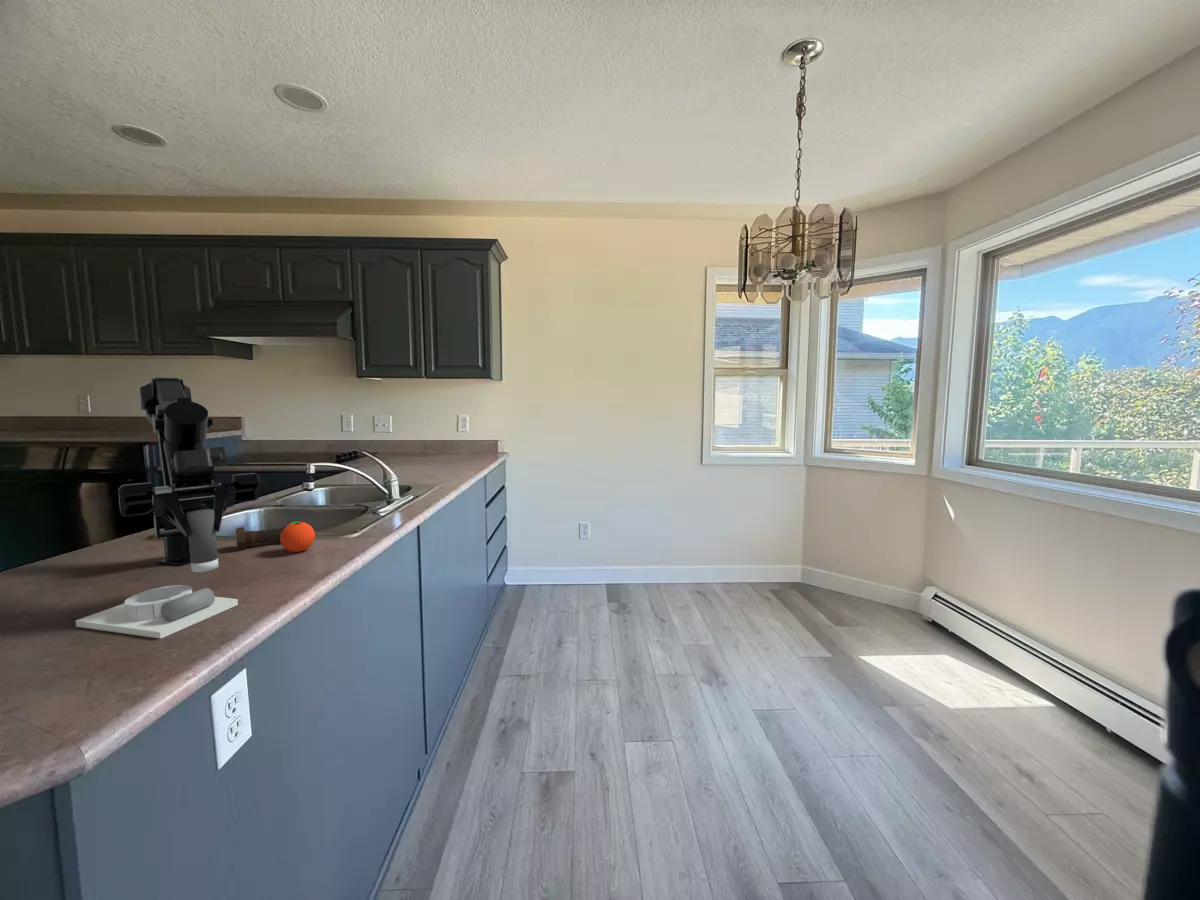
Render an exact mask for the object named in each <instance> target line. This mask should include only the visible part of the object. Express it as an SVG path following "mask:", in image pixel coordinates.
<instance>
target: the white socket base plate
mask: <svg viewBox="0 0 1200 900" xmlns="http://www.w3.org/2000/svg"><path fill="white" fill-rule="evenodd" d="M238 600H239V599H238V598H230V597H223V596H222V597H221V596H215V593H214V591H213V590H212V589H211V588H209V587H204V588H201V589H199V590H196V591H193V588H192V586H190V585H185V584H176V585H166V586H161V587H157V588H156V587H155V588H152V589H147V590H144V591H141V592H138V593H136V594H135V593H134V594H131V596H129V597H128V598H126V599H125V600H124V603H122V604H119V605H116V606H112V607H110V608H107V609H105V610H102V611H99V612H96V613H94V614H90V615H88V616H84V617H82V618H78V619H76V620H75V627H76V628H83V629H90V630H98V631H103V632H111V633H119V634H126V635H133V636H140V637H146V638H147V637H148V638H155V639H161V640H162V639H163V638H166V637H167V636H170V635H173V634H174V633H177V632H179V631H181V630H184V629H185V628H188V627H190V626H193V625H196V624H198V623H200V622H202V621H205V620H206V619H208V618H211V617H213V616H215V615H217V614H220V613H222V612H225V611H227V610H229V609H231V608H234V607H236V606H238V605H239V601H238Z"/></svg>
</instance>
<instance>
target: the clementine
mask: <svg viewBox="0 0 1200 900" xmlns="http://www.w3.org/2000/svg"><path fill="white" fill-rule="evenodd" d="M288 524H289V525H288V526H286V527H285V528H284V527H283V528H284V529H283V531H282V533H281V535H280V544H281V546H282V547H283V548H284V549H285V550H287V551H290V552H293V553H300V551H301V552H303V551H305V550H307V549H309V548H311V546H312V545H313V544H314V541H315V540H316V533H315V530H314V528H313V526H311V525H310V524H308V523H307V522H304V521H294V522H289V523H288Z"/></svg>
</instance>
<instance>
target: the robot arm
mask: <svg viewBox="0 0 1200 900" xmlns="http://www.w3.org/2000/svg"><path fill="white" fill-rule="evenodd" d="M191 391H192V390H191V388H190V387H189V386H187V385H185V384H184V380H183V378H182V379H181V378H179V377H158V376H157V377H153V378H151V379H150V382H148V383H147V384H145V385H143V386H140V387H139V404H140V409H141V410H140V411H144V412H145V413H144V414H145V418H146V421H148V423H150V425H152V432H153V433H154V434H157V437H158V438H157V439H158V446H159V454H160V455H159V456H160V462H161V469H162V476H163V477H162V478H163V485H162V486H154V487H153V483H152V482H150V481H149V482H138V483H130V484H129V483H128V484H127V483H126V484H122V485H120V487H119V488H117V491H118V492H117V493H118V504H119V505H118V506H119V511H120V512H119V513H120V516H121V517H124V518H129V517H137V516H144V515H149V513H151V512H152V511H153V526H154V527H153V528H154V534H155V537H156V539H161V538H163V548H164V549H163V551H164V558H162V559H160V560H157V564H164V565H174V566H182V565H185V564H188V563H191V560H190V549H189V538H188V536H189V528H188V524H187V516H186V513H187V512H190V511H195V510H203V509H208V507H207V506H206V505H207V504H206V503H203V501H202V498H203V499H205V498H212V497H213V498H214V499H213V507H212V508H213V510H214V517H215V530H216V533H218V532H220V529H221V525H222V520H223V517H224V515H225V513H226V511H227V510H228V508H232V507H234V506H235V502H236V503H237V504H239V503H249V502H254V501H257V500H258V499H259V496H260V492H261V486H262V480H261V476H260V475H259V474H257V473H255V472H249V473H237V474H232V475H231V482H227V483H220V482H216V483H214V480H216V477H217V475H216V472H215V471H216V470H215V468H218V467H225V466H226V465H227V461H228V459H227V455H226V450H225V447H224V446H213V447H210V449H206V446H205V441H206V439H207V435H208V434H207V432H208V431H209V429H210V427H211V426H214V423H213V418H210V416H209V411H208V409H207V408H206V407H205V406H203V405H202V404H200V403H197V402H194V401H193V399H192V398H193V397H192V392H191Z"/></svg>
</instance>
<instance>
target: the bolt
mask: <svg viewBox="0 0 1200 900" xmlns="http://www.w3.org/2000/svg"><path fill="white" fill-rule="evenodd" d="M289 524H290V523H287V524H284V526H283V527H281V528H272V529H271V528H270V529H260V530H248V531H247V530H246V531H245V527H243V526H242V527H241V526H240V527H237V528H236V529H235V530H236V531H235V533H236V551H239V550H241V551H245V550H246V547H247V546H253V545H257V544H258V545H259V544H264V543H275V542H279V541H280V535H281V533H282V531H283V529H284V528H285V527H286V526H288V525H289ZM280 542H281V541H280Z"/></svg>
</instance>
